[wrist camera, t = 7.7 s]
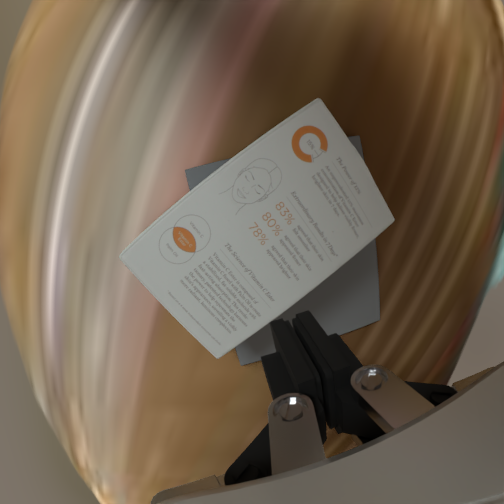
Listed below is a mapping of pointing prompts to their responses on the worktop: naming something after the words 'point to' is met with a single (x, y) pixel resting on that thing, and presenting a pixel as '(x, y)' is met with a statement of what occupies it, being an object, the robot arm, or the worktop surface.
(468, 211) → the worktop surface
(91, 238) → the worktop surface
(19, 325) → the worktop surface
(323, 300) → the mat
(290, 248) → the small box
